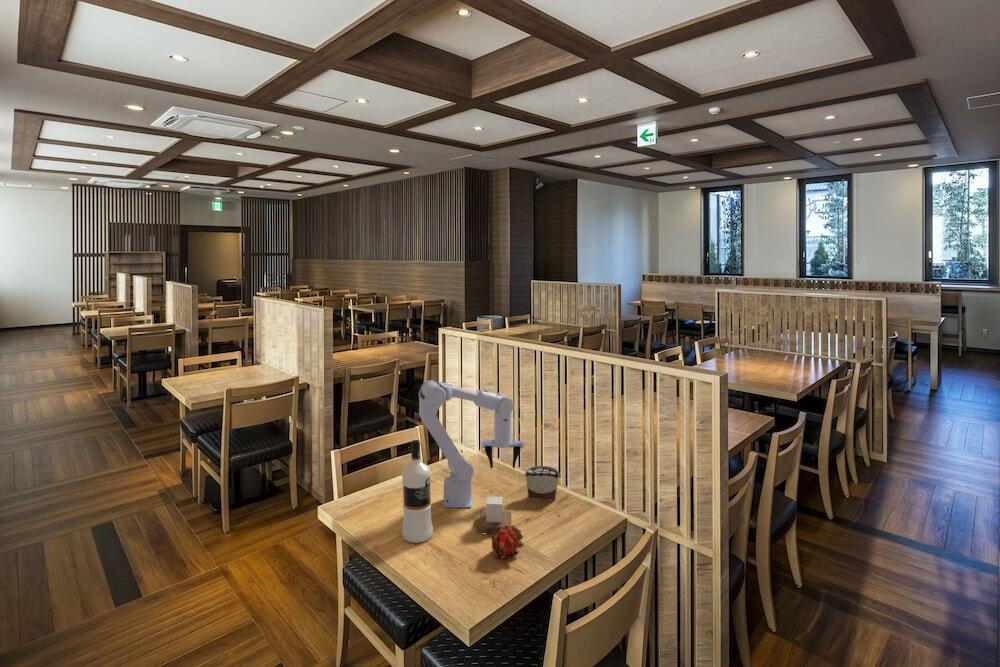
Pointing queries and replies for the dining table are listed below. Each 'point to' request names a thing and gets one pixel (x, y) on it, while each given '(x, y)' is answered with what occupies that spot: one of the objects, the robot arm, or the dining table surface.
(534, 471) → the food container
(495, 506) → the ceramic block
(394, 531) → the dining table surface
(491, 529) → the block
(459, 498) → the robot arm
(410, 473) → the vodka
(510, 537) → the dragon fruit
